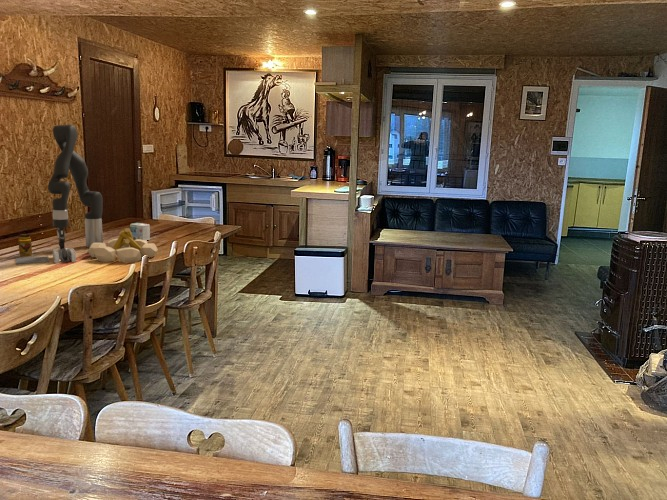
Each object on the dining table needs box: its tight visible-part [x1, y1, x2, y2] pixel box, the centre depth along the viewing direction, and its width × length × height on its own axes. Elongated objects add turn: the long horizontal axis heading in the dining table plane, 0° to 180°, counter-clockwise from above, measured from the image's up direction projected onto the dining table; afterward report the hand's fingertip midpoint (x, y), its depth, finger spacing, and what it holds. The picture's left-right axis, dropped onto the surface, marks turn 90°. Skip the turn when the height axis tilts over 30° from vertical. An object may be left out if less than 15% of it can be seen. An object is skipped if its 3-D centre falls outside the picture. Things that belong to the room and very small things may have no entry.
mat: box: [15, 256, 50, 265], centre depth 286 cm, size 15×13×1 cm
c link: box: [52, 247, 77, 264], centre depth 291 cm, size 14×10×5 cm
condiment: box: [15, 233, 35, 258], centre depth 295 cm, size 7×8×12 cm
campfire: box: [87, 227, 159, 264], centre depth 304 cm, size 35×34×17 cm
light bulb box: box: [129, 222, 151, 242], centre depth 352 cm, size 11×7×11 cm, turn 68°
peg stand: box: [60, 247, 71, 263], centre depth 287 cm, size 4×4×7 cm
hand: (61, 247), depth 295 cm, fingers open, 8 cm apart
